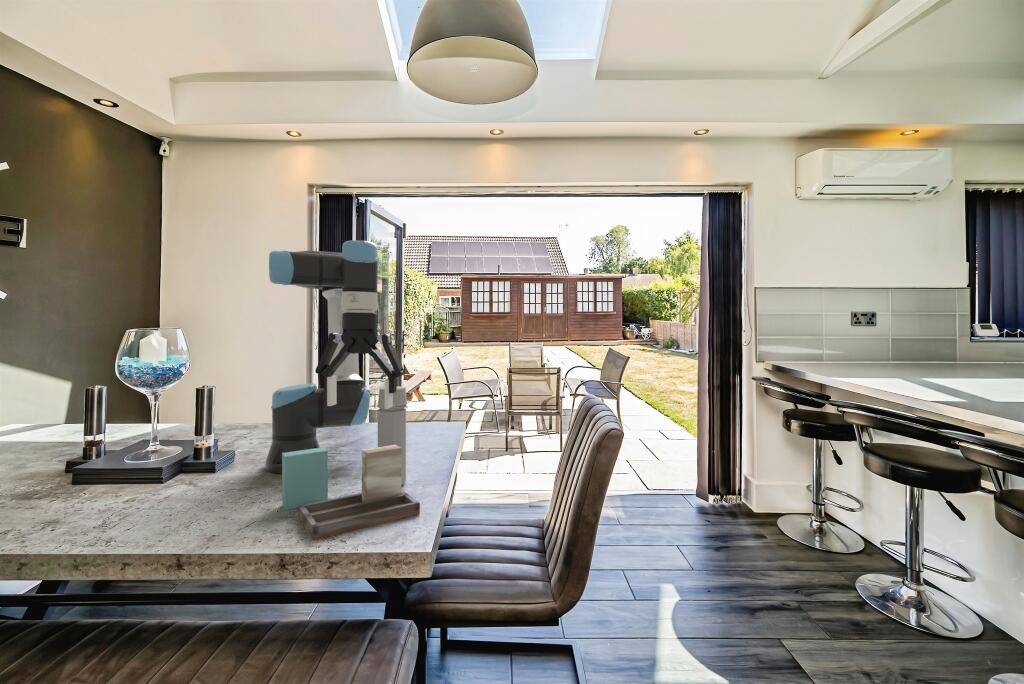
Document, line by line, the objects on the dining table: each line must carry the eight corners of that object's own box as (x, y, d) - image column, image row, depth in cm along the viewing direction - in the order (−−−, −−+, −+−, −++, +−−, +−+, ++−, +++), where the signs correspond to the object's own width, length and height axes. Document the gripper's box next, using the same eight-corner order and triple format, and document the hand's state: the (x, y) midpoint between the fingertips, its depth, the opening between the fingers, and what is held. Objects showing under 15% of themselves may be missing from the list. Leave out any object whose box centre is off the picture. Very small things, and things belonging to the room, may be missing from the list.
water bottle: (400, 490, 117) (400, 390, 116) (371, 487, 119) (371, 389, 118) (414, 478, 126) (415, 385, 125) (387, 476, 128) (387, 384, 127)
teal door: (282, 505, 107) (282, 453, 106) (323, 497, 112) (323, 447, 112) (285, 510, 104) (285, 456, 104) (327, 501, 109) (327, 450, 109)
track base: (298, 517, 100) (297, 456, 100) (396, 496, 113) (396, 442, 113) (313, 540, 90) (312, 472, 89) (419, 513, 103) (419, 454, 102)
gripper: (298, 310, 103) (299, 406, 104) (407, 312, 99) (406, 412, 100) (317, 311, 110) (318, 401, 111) (419, 312, 106) (419, 405, 107)
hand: (360, 406), depth 106 cm, fingers open, 13 cm apart
